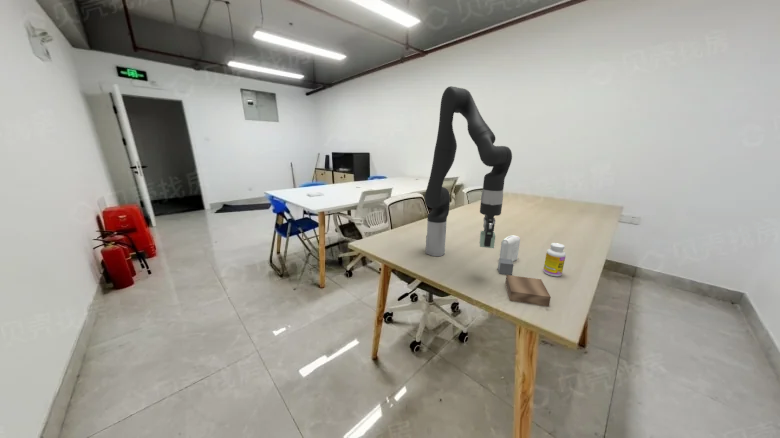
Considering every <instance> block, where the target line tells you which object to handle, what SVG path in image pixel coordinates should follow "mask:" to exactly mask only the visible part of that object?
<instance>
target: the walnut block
mask: <svg viewBox="0 0 780 438" xmlns="http://www.w3.org/2000/svg"><path fill="white" fill-rule="evenodd" d="M505 288H506V291H507V294H508V299H509V301H510V302H511V301H512V302H518V303H524V304H531V305H538V306H545V307H549V306H550V303H551V294H550V293H549V291H548V289H547V288H546V285H545V284H544V282H543V280H542V279H541V278H534V277H528V276H527V277H524V276H520V275H519V276H516V275H506V274H505Z"/></svg>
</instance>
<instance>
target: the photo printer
mask: <svg viewBox="0 0 780 438" xmlns="http://www.w3.org/2000/svg"><path fill="white" fill-rule="evenodd" d="M520 244H521V238H520V236H518V235H513V234H512V235H507V236H506V237H505V238H504V239H502V241H501V243H500V250H499V258H502V259H511V260H512V262H513V263H514V262H515V261H517V260H518V259H519V258H518V257H519V250H520Z"/></svg>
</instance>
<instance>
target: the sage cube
mask: <svg viewBox="0 0 780 438" xmlns="http://www.w3.org/2000/svg"><path fill="white" fill-rule="evenodd" d="M487 234H491V233H489V232H488V233H487ZM479 235H480V236H479V247H480V248H487V249H495V244H496V243H495V241H496V233H495V231H493V237H492V238H491V245H490V247H485V246H484V241H485V231H484V230H480V234H479Z"/></svg>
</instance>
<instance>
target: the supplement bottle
mask: <svg viewBox="0 0 780 438" xmlns="http://www.w3.org/2000/svg"><path fill="white" fill-rule="evenodd" d="M565 247H566V246H565V245H564V244H562V243H557V242H551V244H550V248H548V249H547V250H546V252H545V259H544V264H543V265H544V266H543V269H542V270H543V272H544V274H546V275H548V276H551V277H561V276H562V275H563V270H564V266H565V260H566V255H567V253H566V252H565V251H564V250H565Z"/></svg>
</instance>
